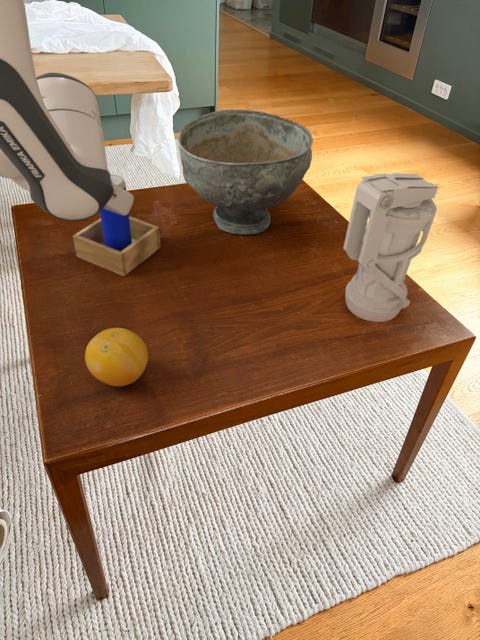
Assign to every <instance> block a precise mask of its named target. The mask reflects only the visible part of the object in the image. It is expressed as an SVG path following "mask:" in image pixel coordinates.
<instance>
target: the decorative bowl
mask: <svg viewBox="0 0 480 640" xmlns="http://www.w3.org/2000/svg"><path fill="white" fill-rule="evenodd" d="M177 143H178V148H179V149H178V150H179V156H180V161H181V165H182V175H183V179H184V182H185V183H186V184H187V185H188V186H189V187H190V188H191V189H192V190H193V191H194V192H195V193H196V194H197V195H199V196H200V198H202V199H203V200H204V201H206V202H207V203H209V204H211V205H213V206H215V207H214V209H213V211H212V216H213V220H214V222H215V224H216V226H217V227H218V229H219V230H222V231H224V232H226V233H230V234H236V235H255V234H259V233H261V232H264V231H265V230H267V229H268V228H269V226H270V225H271V219H272V217H271V215H270V211H269V210H268V209H269V208H272V207H275V206H277V205H280V204H281V203H283V202H285V201H286V200H288V199H289V198H290V197H291V196H292V194H294V193H295V191H296V189H297V188H298V187H299V186H300V184H301V183H302V180H304V177H305V175H306V174H307V172H308V170H309V169H310V167H311V164H312V159H313V150H312V146H313V143H314V138H313V135H312V133H311V132H310V129H308V128H307V127H306V126H304V125H302V124H300V123H299V122H297V121H293V120H291V119H289V118H286V117H285V118H284V117H281V116H279V115H277V114H273V113H267V112H265V111H259V110H252V109H251V110H250V109H249V110H248V109H233V108H232V109H231V108H230V109H221V110H216V111H213V112H208V113H206V114H202V115H200V116H199V117H195V118H194V119H192V120H189V121H188V122H187V123H186V124H185V125H184V126H183V128H181V130H180V132H179V133H178V136H177Z"/></svg>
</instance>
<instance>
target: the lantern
mask: <svg viewBox="0 0 480 640" xmlns="http://www.w3.org/2000/svg"><path fill="white" fill-rule="evenodd" d="M360 178H361V179H362V180H361V181H359V183H358V184H357V185H356V190H355V195H354V199H353V203H352V208H351V212H350V216H349V221H348V226H347V230H346V234H345V239H344V243H343V250H344V252H345V254H346V255H347V256H348V257H349V259H351V260H352V261H356V262H358V267H357V270H356V273H355V274H354V276H352V278H351V280H350V281H349V282H348V283H347V285H346V287H345V294H344V299H345V300H344V301H345V304H346V308H347V309H348V310H349V311H350V312H351V313H352V314H353V315H354V316H356V317H357V318H360V319H363V320H364V321H368V322H374V323H382V322H383V323H385V322H389V321H392V320H393V319H394V318H396V317H397V316H398V314H399V313H400V311H401V310H402V309H405V308H407V307H408V306H409V305H410V304H411V301H410V300H409V299H408V298H407V296H408V293H409V291H408V288H407V285H406V283H405V280H406V276H407V273H408V271H409V268H410V267H409V266H410V265H411V261H412V260H414V259H415V258H416V257H417V256H418V255H419V254H420V253H422V250H423V247H424V245H425V244H426V242H427V239H428V236H429V233H430V230H431V228H432V226H433V222H434V220H435V216H436V214H437V210H438V209H437V205H436V204H435V201H433V199H435V198H436V194H437V192H438V188H439V186H437V185H436V184H434V183H432V182H428V181H427V180H425V178H424V177H422V176H421V175H419V174H417V173H398V172H392V173H377V174H376V173H375V174H372V175H367V176H366V175H365V176H361V177H360ZM421 232H422V235H421ZM420 235H421V238H420ZM419 239H420V241H419V242H418V240H419Z"/></svg>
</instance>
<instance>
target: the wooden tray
mask: <svg viewBox="0 0 480 640" xmlns="http://www.w3.org/2000/svg"><path fill="white" fill-rule="evenodd" d="M129 221H130V230H131V239H132V244H131V245H129V246H128V247H126V248H125V249H124V250H122V251H121V252H120V251H118V250H115V249H113V248H110V247H107V246H105V242H104V235H103V228H102V222H101V217H100V218H99V219H97V220H95V221H94V222H92V223H91V224H89V225H87V226H86V227H84V228H83V229H81V230H79V231H78V232H77V233H75V234H73V235H72V240H73V243H74V250H75V254H76V257H77V258H79V259H81V260H83V261H86V262H88V263H90V264H93V265H96V266H98V267H100V268H103V269H105V270H108V271H111V272H112V273H115V274H118V275H120V276H122V277H126V276H127V275H128V274H130V273H131V271H132V270H134V269H135V268H136V267H138V266H140V264H142V263H143V262H144V261H145V260H147V259H148V258H150V256H152V255H154V253H156V252H157V251H158V250H159V249H161V248H162V247H161V234H160V233H161V232H160V226H157V225H155V224H152V223H149V222H147V221H143V220H141V219H138V218H135V217H133V216H130V215H129Z"/></svg>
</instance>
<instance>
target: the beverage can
mask: <svg viewBox="0 0 480 640" xmlns="http://www.w3.org/2000/svg"><path fill="white" fill-rule="evenodd" d="M110 176H111V181H112V182H113V183H114V184H116V185H118V186H119V187H121V188H123V189H124V190H126V191H127V186H126V182H125V180H124V177H122V176H121V175H119V174H118V175H117V174H110ZM99 214H100V218H101V222H102V228H103V235H104V242H105V246H107V247H110V248H113V249H115V250H118V251H120V252H121V251H122V250H124V249H125V248H126V247H128V246H129V245H131V244H132V239H131V230H130V221H129V216H130V212H129V213H128V214H127V215H126V216H123V215H120V214H117V213H114V212H111V211H109V210H106V209H102V210H101V211H100V212H99Z"/></svg>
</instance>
